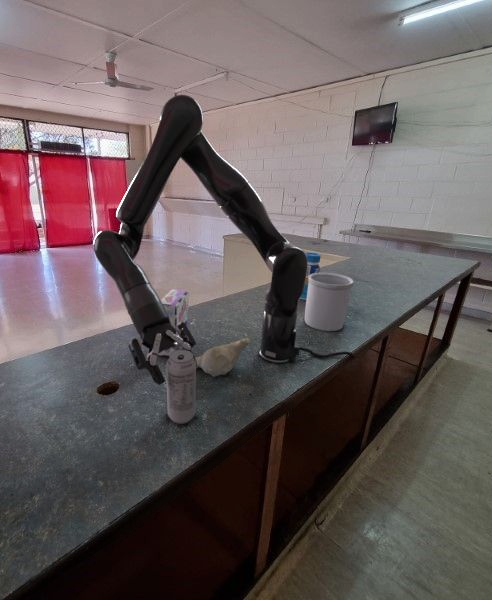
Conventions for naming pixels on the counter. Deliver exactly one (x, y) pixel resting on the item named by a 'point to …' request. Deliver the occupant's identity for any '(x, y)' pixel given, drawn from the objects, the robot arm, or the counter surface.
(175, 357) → the energy drink can
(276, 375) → the counter surface
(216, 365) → the beige lumpy piece
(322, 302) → the utensil holder
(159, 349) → the robot arm
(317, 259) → the beverage bottle
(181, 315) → the candy box
